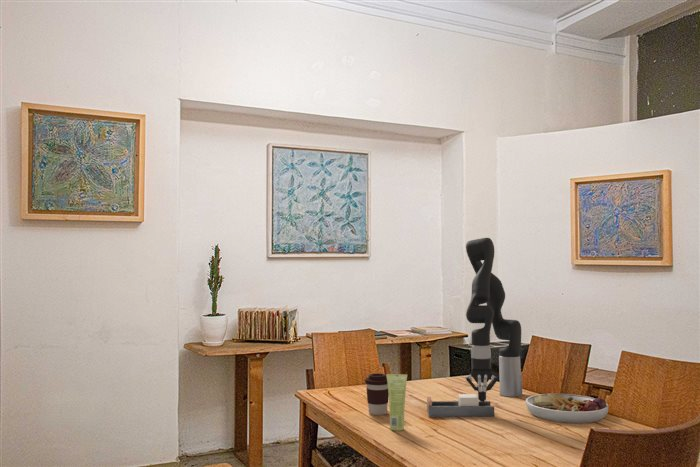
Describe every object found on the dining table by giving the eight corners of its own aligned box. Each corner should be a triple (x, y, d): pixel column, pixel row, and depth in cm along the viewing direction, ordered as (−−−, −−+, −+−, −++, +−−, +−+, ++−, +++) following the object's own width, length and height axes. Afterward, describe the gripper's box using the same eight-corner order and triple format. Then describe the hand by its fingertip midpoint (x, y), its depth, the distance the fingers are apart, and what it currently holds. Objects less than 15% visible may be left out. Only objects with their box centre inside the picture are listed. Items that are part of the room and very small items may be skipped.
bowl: (518, 420, 225) (518, 399, 225) (534, 402, 251) (533, 384, 252) (605, 429, 211) (604, 407, 211) (611, 410, 238) (610, 390, 238)
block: (476, 409, 236) (475, 394, 236) (478, 413, 230) (478, 397, 230) (458, 409, 236) (458, 394, 236) (460, 413, 230) (460, 397, 230)
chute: (490, 411, 237) (489, 396, 237) (494, 417, 228) (494, 401, 228) (426, 411, 238) (426, 396, 238) (428, 417, 229) (428, 401, 230)
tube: (398, 426, 217) (397, 372, 218) (408, 429, 213) (407, 374, 214) (387, 429, 214) (386, 374, 215) (396, 432, 210) (396, 376, 211)
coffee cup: (388, 416, 231) (388, 377, 231) (363, 415, 233) (363, 376, 233) (392, 410, 240) (391, 372, 241) (367, 409, 242) (367, 372, 243)
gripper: (496, 354, 237) (497, 399, 236) (462, 355, 238) (463, 399, 237) (500, 357, 230) (501, 403, 229) (465, 358, 230) (466, 403, 229)
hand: (482, 401), depth 233 cm, fingers closed
